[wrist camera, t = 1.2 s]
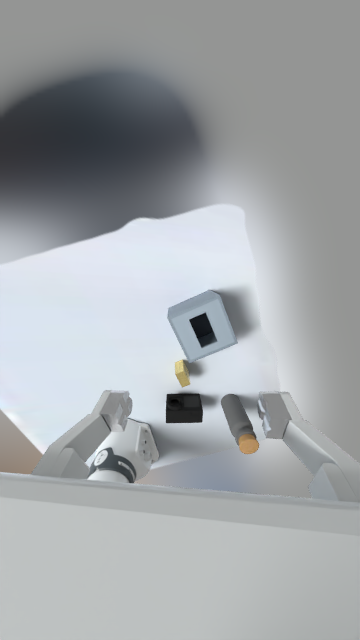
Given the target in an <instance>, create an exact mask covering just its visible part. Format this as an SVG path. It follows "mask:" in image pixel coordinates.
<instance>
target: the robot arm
mask: <svg viewBox="0 0 360 640" xmlns="http://www.w3.org/2000/svg"><path fill="white" fill-rule="evenodd" d="M257 408H258V413H259V417H260V418H261V419H262V420H263V424H262V427H263V430H264V433H265V436H266V438H273V439H283V441H284V442H285V443H286V445H287V446H288V447H289V448H290V449H291V450H292V451H293V453H294V454H295V455H296V456H297V457H298V458H299V460H300V461H301V462H302V463H303V464H304V465H305V466H306V468H307V469H308V470H309V471H310V472H311V473H312V474H313V475H314V478H313V480H312V481H311V483H310V484H309V486H308V489H309V491H310V494H311V496H312V499H311V498H299V497H288V496H276V495H264V494H252V493H239V492H228V491H217V490H204V489H193V488H181V487H169V486H158V485H145V484H134V482H135V481H137V480H139V479H141V478H143V477H144V476H145V475H147V474H148V472H149V471H150V468H151V464H153V463H154V462H155V461H157V459H158V458H159V452H158V449H157V447H156V444H155V441H154V438H153V435H152V433H151V430H150V427H149V425H148V424H146V423H138V422H136V421H134V420H131V419H127V417H128V416H129V415H130V414H131V411H132V399H131V398H130V397H129V392H128V391H113V390H105V391H104V392H103V393H102V395H101V397H100V399H99V400H98V402H97V404H96V406H95V408H94V409H93V411H92V413H91V414H88V415H87V416H86V417H85V418H83V419H82V420H81V421H80V422H78V423H77V424H76V425H75V426H73V427H72V428H71V429H70V430H69V431H67V432H66V433H65V434H64V435H62V436H61V437H60V438H59V439H57V440H56V441H55V442H54V443H52V444H51V445H50V446H49V448H48V449H47V451H46V452H45V454H44V455H43V457H42V458H41V460H40V461H39V463H38V464H37V466H36V467H35V469H34V470H33V472H32V473H31V475H26V474H16V473H4V472H0V640H360V464H359V463H358V462H357V461H356V460H355V459H353V458H352V457H351V456H350V455H348V454H347V453H346V452H344V450H342V449H341V448H340V447H339V446H337V445H336V444H335V443H334V442H332V441H331V440H330V439H329V438H328V437H326V436H325V435H324V434H323V433H321V432H320V431H319V430H318V429H317V428H315V427H314V426H313V425H312V424H310V423H309V422H308V421H306V420H303V418H302V416H301V414H300V412H299V410H298V409H297V407H296V405H295V403H294V401H293V399H292V397H291V395H290V394H289V393H288V392H259V400H258V402H257ZM96 449H97V451H96V454H95V458H94V461H93V463H92V464H91V467H90V468H89V467H88V466H87V464H86V463H85V462H86V461H87V459H88V458H89V457H90V456H91V455H92V454H93V453H94V451H95V450H96Z"/></svg>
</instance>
